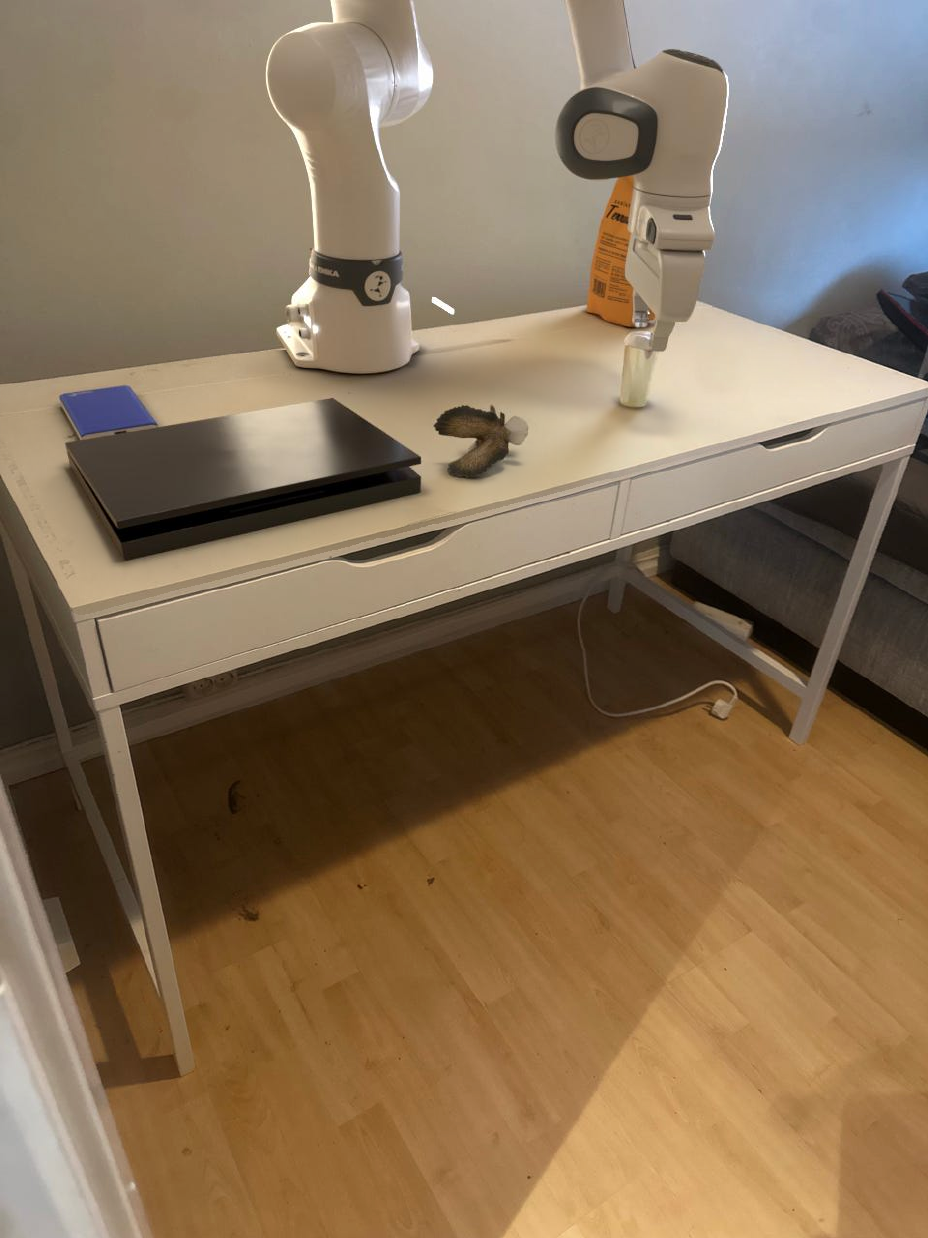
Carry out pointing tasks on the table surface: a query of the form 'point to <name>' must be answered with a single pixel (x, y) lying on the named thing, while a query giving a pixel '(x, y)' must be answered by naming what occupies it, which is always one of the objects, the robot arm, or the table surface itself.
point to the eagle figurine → (480, 437)
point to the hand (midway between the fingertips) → (647, 337)
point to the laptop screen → (232, 460)
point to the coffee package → (613, 260)
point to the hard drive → (106, 412)
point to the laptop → (251, 512)
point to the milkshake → (637, 369)
